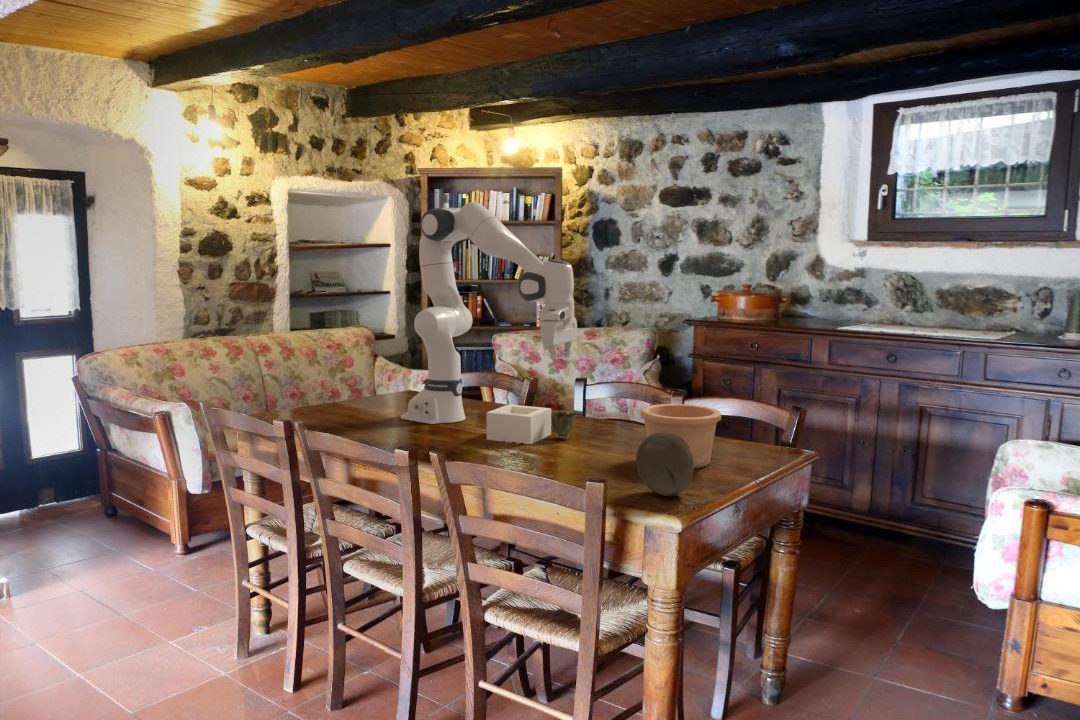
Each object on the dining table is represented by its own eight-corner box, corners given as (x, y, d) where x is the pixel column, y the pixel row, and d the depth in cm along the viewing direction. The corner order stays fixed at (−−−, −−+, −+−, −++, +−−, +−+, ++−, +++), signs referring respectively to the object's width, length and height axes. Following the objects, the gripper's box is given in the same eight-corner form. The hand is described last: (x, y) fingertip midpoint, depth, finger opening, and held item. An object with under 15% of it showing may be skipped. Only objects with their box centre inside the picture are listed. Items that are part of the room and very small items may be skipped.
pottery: (665, 448, 244) (666, 400, 242) (733, 460, 230) (735, 410, 228) (624, 462, 227) (625, 411, 225) (695, 476, 213) (697, 422, 212)
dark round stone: (702, 492, 200) (705, 431, 198) (678, 507, 188) (679, 442, 186) (650, 482, 208) (652, 424, 206) (623, 496, 196) (624, 434, 194)
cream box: (486, 439, 253) (486, 412, 252) (508, 430, 267) (508, 404, 266) (530, 444, 247) (530, 416, 246) (551, 434, 261) (551, 408, 260)
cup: (546, 439, 254) (546, 414, 253) (557, 435, 260) (557, 410, 259) (568, 442, 250) (568, 416, 249) (578, 437, 257) (578, 412, 256)
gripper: (563, 310, 262) (564, 353, 264) (536, 314, 244) (537, 361, 246) (582, 310, 260) (582, 354, 261) (556, 315, 241) (557, 361, 243)
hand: (560, 357), depth 253 cm, fingers open, 8 cm apart
